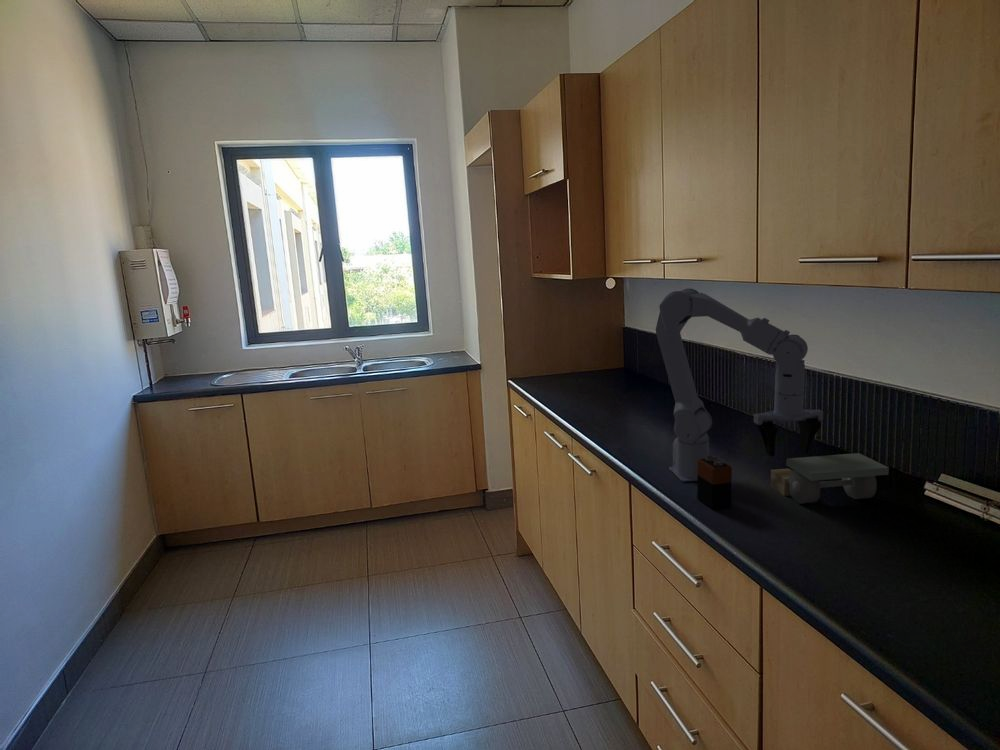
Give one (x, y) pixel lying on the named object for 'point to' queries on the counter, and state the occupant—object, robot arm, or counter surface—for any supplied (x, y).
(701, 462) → the battery
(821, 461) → the trolley
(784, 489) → the chock
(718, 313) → the robot arm
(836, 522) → the counter surface
